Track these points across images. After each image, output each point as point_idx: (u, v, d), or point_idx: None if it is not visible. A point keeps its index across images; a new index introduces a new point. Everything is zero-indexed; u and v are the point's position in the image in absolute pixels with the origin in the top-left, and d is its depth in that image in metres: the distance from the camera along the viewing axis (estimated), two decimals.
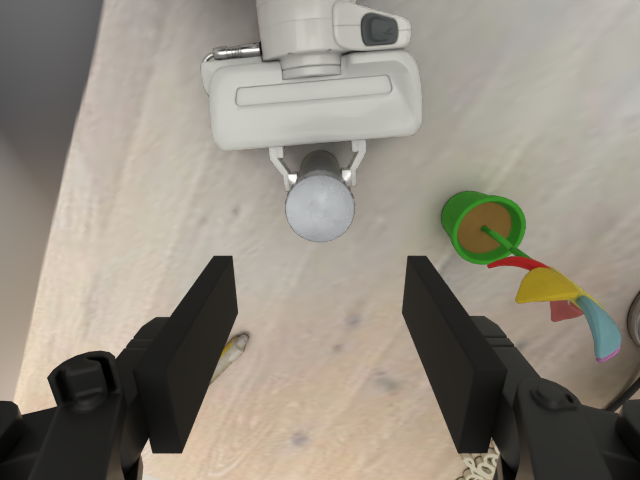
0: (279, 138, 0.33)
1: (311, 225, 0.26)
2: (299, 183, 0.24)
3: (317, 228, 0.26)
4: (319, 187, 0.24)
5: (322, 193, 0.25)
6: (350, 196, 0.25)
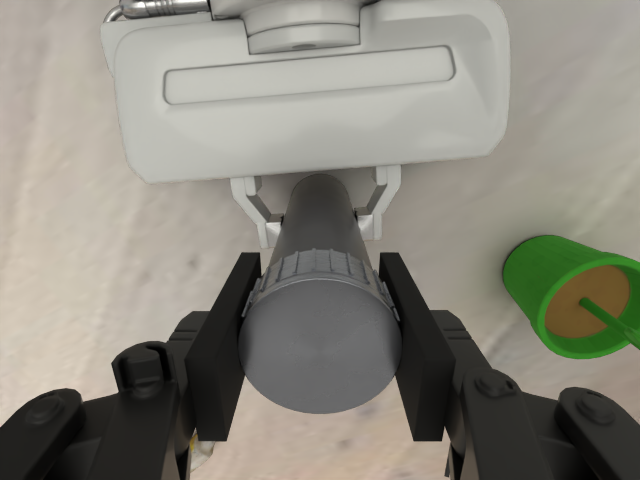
0: (246, 163, 0.18)
1: (300, 382, 0.11)
2: (269, 296, 0.10)
3: (314, 388, 0.11)
4: (318, 304, 0.10)
5: (326, 317, 0.10)
6: (394, 323, 0.10)
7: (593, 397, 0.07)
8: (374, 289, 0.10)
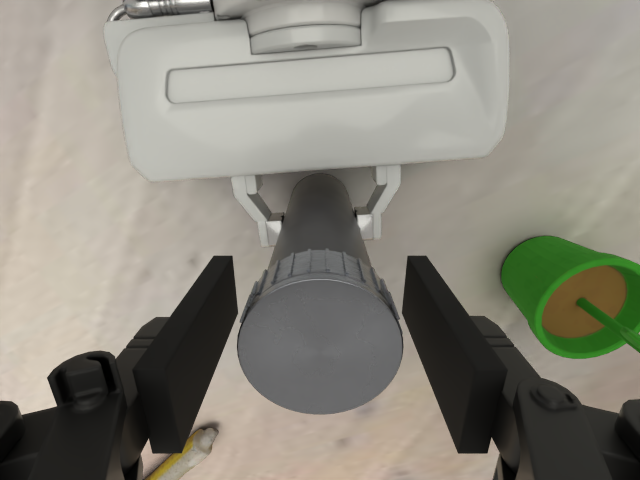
0: (248, 162, 0.18)
1: (347, 379, 0.11)
2: (244, 368, 0.11)
3: (359, 371, 0.11)
4: (267, 336, 0.10)
5: (284, 335, 0.10)
6: (316, 282, 0.10)
7: None
8: (280, 281, 0.10)
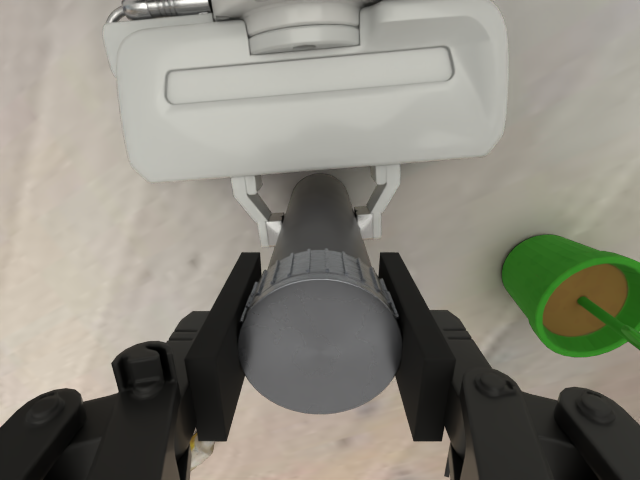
0: (247, 162, 0.18)
1: (347, 378, 0.11)
2: (244, 368, 0.11)
3: (360, 370, 0.11)
4: (267, 336, 0.10)
5: (283, 335, 0.10)
6: (315, 282, 0.10)
7: (593, 398, 0.07)
8: (279, 281, 0.10)
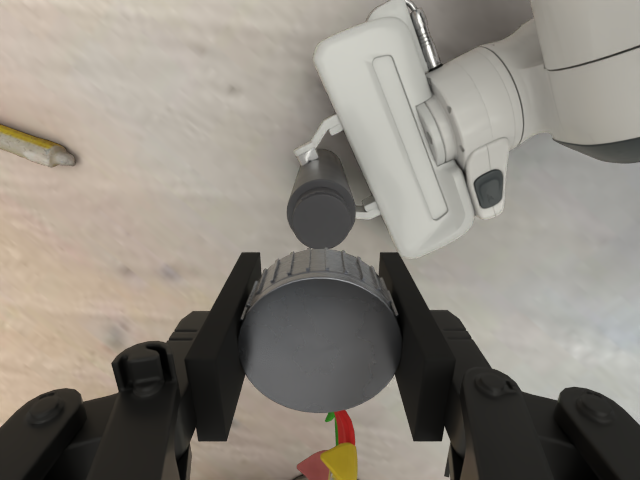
0: (352, 124, 0.28)
1: (347, 377, 0.11)
2: (244, 367, 0.11)
3: (359, 369, 0.11)
4: (267, 335, 0.10)
5: (284, 334, 0.10)
6: (315, 280, 0.10)
7: (594, 398, 0.07)
8: (279, 280, 0.10)
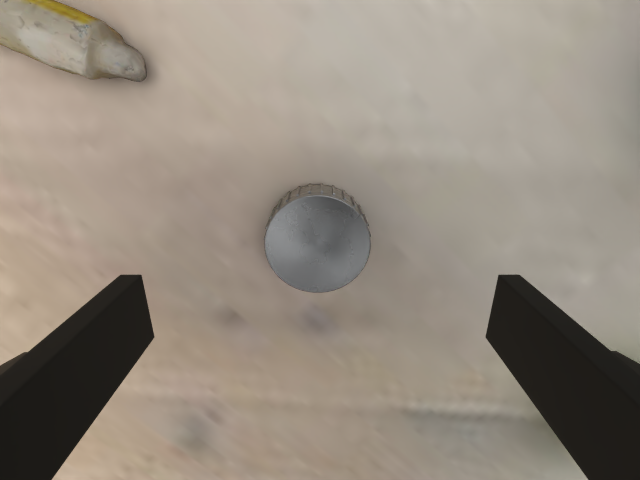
0: None
1: (335, 266, 0.17)
2: (268, 258, 0.17)
3: (343, 260, 0.17)
4: (284, 235, 0.16)
5: (294, 234, 0.16)
6: (314, 197, 0.15)
7: None
8: (291, 199, 0.16)
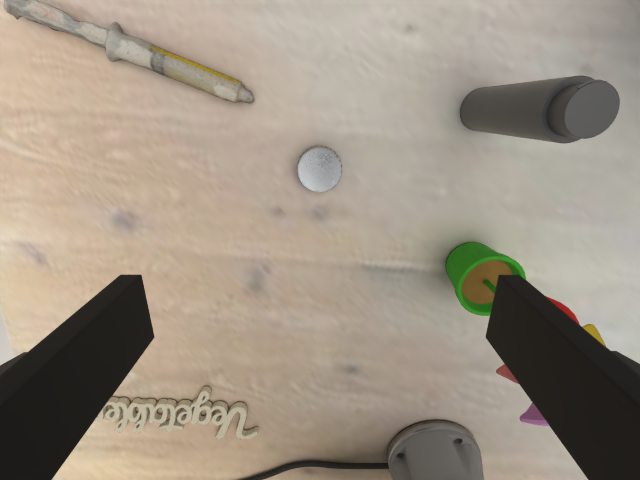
0: None
1: (326, 179, 0.40)
2: (299, 176, 0.40)
3: (330, 176, 0.40)
4: (305, 165, 0.39)
5: (310, 165, 0.39)
6: (318, 149, 0.39)
7: None
8: (309, 150, 0.39)
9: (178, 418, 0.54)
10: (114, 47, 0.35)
